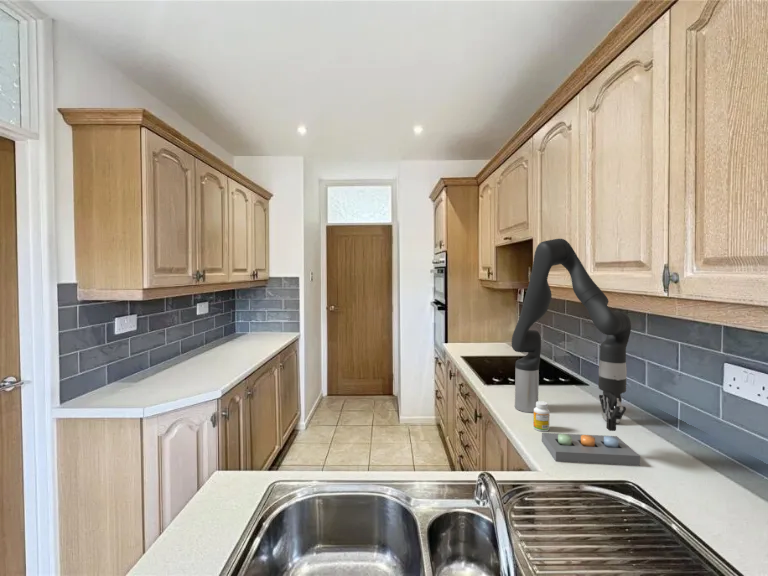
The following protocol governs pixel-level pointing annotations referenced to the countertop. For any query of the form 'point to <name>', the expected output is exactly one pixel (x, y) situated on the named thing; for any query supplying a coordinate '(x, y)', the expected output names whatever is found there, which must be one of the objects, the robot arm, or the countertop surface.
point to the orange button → (587, 441)
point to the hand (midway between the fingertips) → (611, 429)
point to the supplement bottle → (541, 416)
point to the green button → (564, 439)
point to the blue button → (611, 441)
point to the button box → (590, 451)
